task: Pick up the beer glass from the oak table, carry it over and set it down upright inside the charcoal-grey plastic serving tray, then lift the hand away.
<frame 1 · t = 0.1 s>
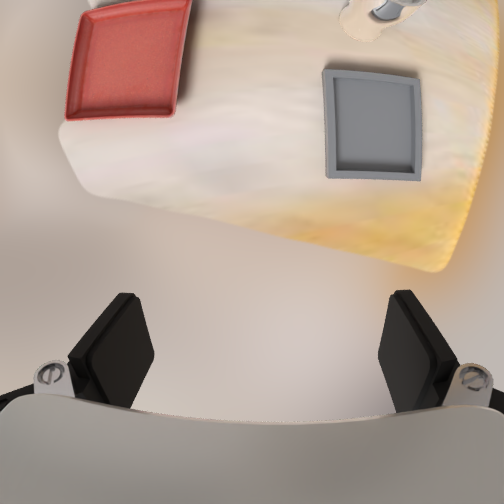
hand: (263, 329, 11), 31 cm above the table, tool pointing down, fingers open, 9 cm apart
serving tray: (372, 125, 35), on the table
beer glass: (360, 23, 30), on the table
plant saucer: (131, 60, 34), on the table
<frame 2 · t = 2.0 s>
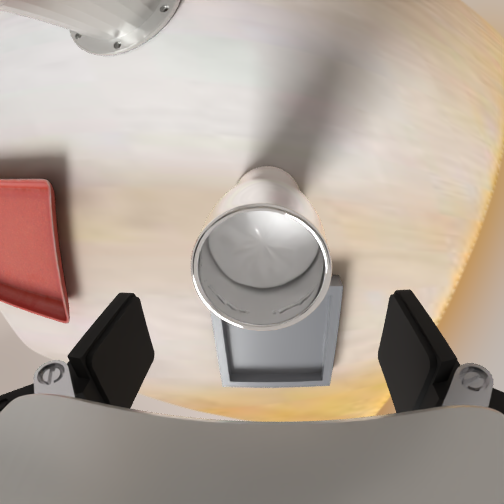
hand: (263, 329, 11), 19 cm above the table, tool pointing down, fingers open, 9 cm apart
serving tray: (276, 332, 33), on the table
beer glass: (267, 198, 28), on the table
plant saucer: (24, 239, 32), on the table
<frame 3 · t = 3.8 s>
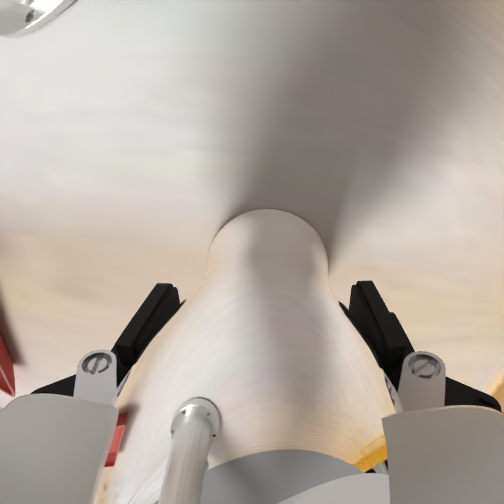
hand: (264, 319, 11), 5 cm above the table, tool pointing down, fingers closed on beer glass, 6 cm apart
beer glass: (267, 264, 16), on the table, touching gripper
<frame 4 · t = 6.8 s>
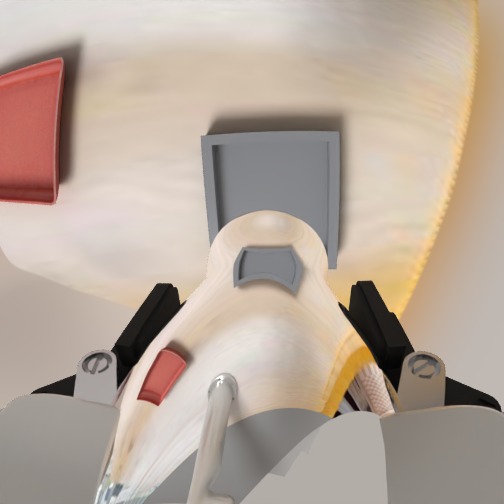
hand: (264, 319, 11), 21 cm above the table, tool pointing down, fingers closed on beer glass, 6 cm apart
serving tray: (272, 199, 31), on the table
beer glass: (267, 265, 16), point 17 cm above the table, touching gripper
plant saucer: (26, 133, 30), on the table
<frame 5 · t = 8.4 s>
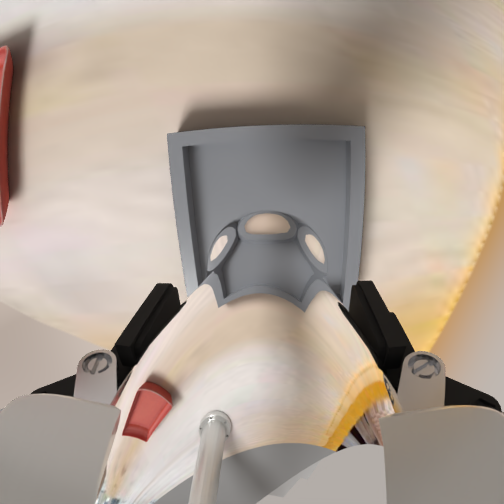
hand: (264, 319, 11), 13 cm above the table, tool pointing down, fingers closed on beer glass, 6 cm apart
serving tray: (270, 220, 23), on the table
beer glass: (267, 265, 16), point 8 cm above the table, touching gripper
when the fingers open (7 cm above the table, at t = 10.0 s): beer glass drops 1 cm, resting on serving tray.
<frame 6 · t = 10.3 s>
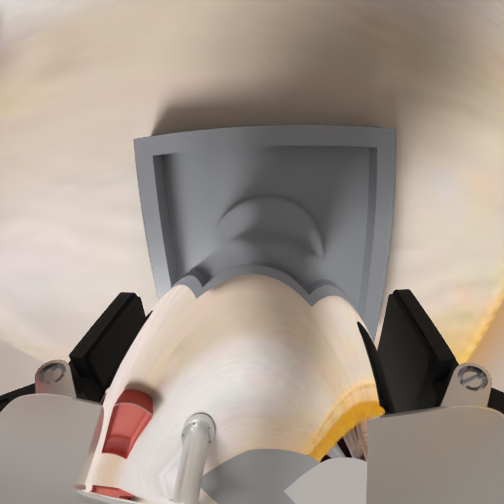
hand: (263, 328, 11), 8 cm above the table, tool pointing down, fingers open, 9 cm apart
serving tray: (269, 249, 18), on the table
beer glass: (268, 247, 17), point 1 cm above the table, touching serving tray
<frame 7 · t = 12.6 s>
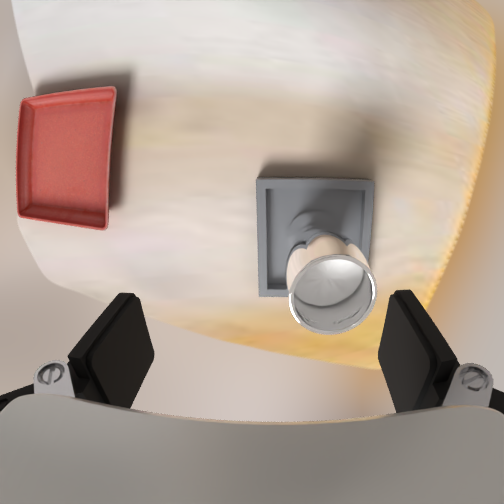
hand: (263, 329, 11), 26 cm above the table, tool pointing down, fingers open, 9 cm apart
serving tray: (313, 236, 36), on the table
beer glass: (313, 234, 35), point 1 cm above the table, touching serving tray
plant saucer: (70, 155, 35), on the table
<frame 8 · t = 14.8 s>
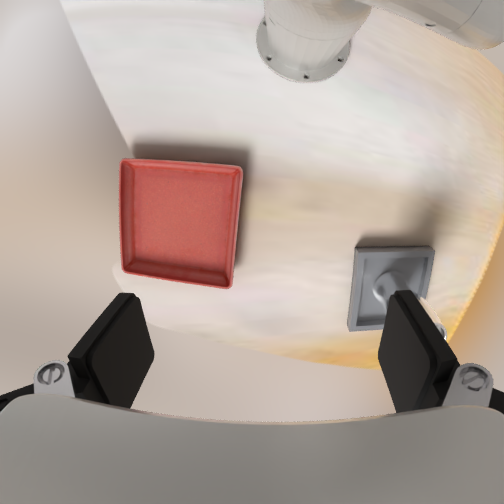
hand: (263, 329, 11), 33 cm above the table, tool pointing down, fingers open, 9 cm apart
serving tray: (388, 286, 46), on the table
beer glass: (389, 286, 45), point 1 cm above the table, touching serving tray
plant saucer: (181, 218, 45), on the table
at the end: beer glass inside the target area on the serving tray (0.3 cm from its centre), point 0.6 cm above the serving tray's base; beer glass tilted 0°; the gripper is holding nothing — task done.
